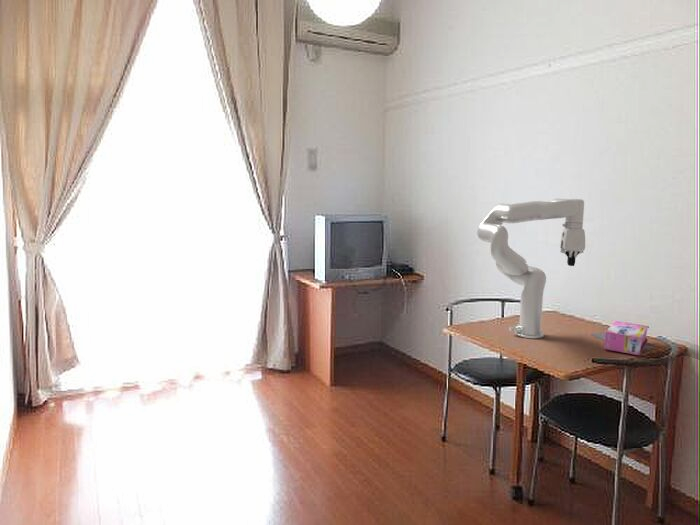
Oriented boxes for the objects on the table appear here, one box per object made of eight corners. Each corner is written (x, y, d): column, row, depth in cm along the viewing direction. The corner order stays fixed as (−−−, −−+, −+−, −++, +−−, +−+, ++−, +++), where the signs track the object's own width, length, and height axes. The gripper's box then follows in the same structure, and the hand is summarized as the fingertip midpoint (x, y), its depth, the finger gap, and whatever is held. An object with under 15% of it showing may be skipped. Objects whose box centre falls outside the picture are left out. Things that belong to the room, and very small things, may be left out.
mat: (625, 350, 231) (625, 349, 231) (591, 334, 254) (591, 333, 254) (654, 348, 233) (654, 347, 233) (618, 333, 256) (618, 332, 256)
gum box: (615, 319, 248) (649, 324, 240) (614, 336, 249) (647, 341, 242) (605, 331, 229) (641, 337, 221) (603, 349, 230) (639, 356, 222)
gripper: (562, 226, 247) (559, 267, 250) (593, 226, 249) (590, 266, 251) (554, 225, 254) (551, 264, 257) (584, 225, 256) (581, 264, 259)
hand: (570, 265), depth 254 cm, fingers closed
